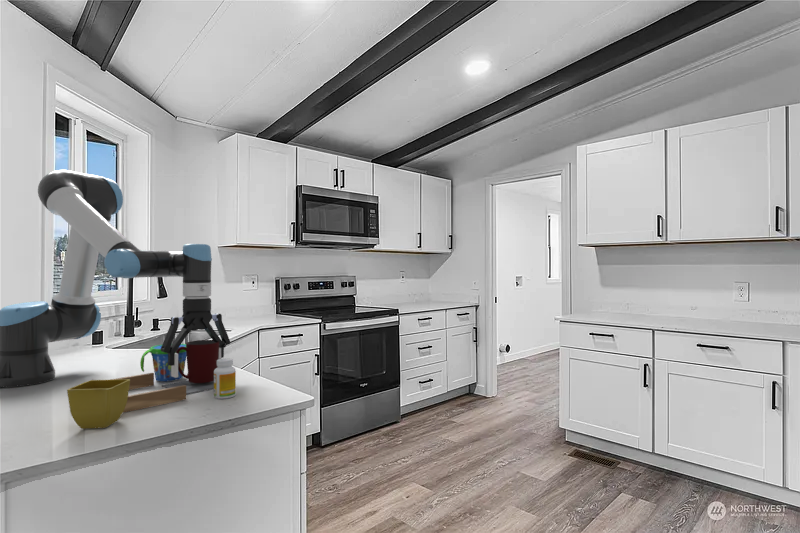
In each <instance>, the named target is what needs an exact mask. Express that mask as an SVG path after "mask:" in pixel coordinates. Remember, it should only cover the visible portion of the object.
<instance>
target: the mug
mask: <svg viewBox="0 0 800 533" xmlns="http://www.w3.org/2000/svg"><path fill="white" fill-rule="evenodd" d="M185 344H186V347H179V348H178V349H177V351H176V353H177V354H179V351H180V350H186V367H187V374H185V372H184V373H183V372H182V370H181V368H180V365H179V360H178V371H179V372H180V374H181V375H182V376H183V377H182V378H184V379H187V380H189V382H191V383H206V382H211V381H214V370H215V369H216V368H217V367H218V366H217V360H218V356H219V341H218V342H217V343H216V342H214V341H213V340H212V339H200V340H191V341H187V342H186V343H185Z"/></svg>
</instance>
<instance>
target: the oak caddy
mask: <svg viewBox="0 0 800 533" xmlns="http://www.w3.org/2000/svg"><path fill="white" fill-rule="evenodd" d="M118 379H130V385H129V391H130V390H136V389H141V388H146V387H152V386H153V387H154V385H155V373H154V372H148V373H141V374H136V375H128V376H124V377H117V378H112V379H109V380H118ZM185 400H187V395H186V385H182V386H177V387H171V388H161V389H156V390H151V391H146V392H141V393H135V394H131V395H129V394H128V399H127V403H126V406H125V409H124V411H123V413H129V412H133V411H138V410H142V409H148V408H151V407H157V406H161V405H166V404H172V403H176V402H180V401H185ZM123 413H122V414H123Z"/></svg>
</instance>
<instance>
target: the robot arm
mask: <svg viewBox="0 0 800 533" xmlns="http://www.w3.org/2000/svg"><path fill="white" fill-rule="evenodd" d="M37 195H38V198H39V200H40V202H41V204H42V205H43V206H44V207H45V209H47V210H48V211H49V213H52V214H53V215H55V216H59V217H61V218H62V219H63V220H64V221H65V222H66V223H68V224H67V225H70V230H69V234H68V241H67V247H66V251H65V252H66V253H65V259H64V263H63V268H62V275H61V281H60V287H59V290H58V291H59V292H57V293H56V294H54V295H53V296H52V297H51V303H50V304H49V303H48V302H47V301H43V300H42V301H41V300H40V301H37V300H35V301H29V302H21V303H20V302H19V303H14V304H10V305H6V306H4V307H2V308H1V309H0V388H16V387H24V386H32V385H37V384H42V383H47V382H49V381H52V380H54V379H55V378H56V369H55V366H54V364H53V362H52V360H51V357H50V355H49V343H55V342H56V343H57V342H62V341H68V340H69V341H70V340H79V339H82V338H85V337H86V338H87V337H89V336H91V335H92V334H94V333H95V332H96V331H97V330H98V328H99V326H100V323H101V319H102V314H101V312H100V311H101V309H100V308H99V306H98V305H97V304H96V299H95V298H94V297H93V296H92V293H93V292H92V291H93V286H94V280H95V276H96V269H97V266H98V265H97V264H98V259H99V254H100V255H101V256H102V257H103V258H104V268H106V270H105V271H106V273H107V274H108V275H109V276H111V277H112V278H119V279H120V278H122V279H135V278H136V279H137V278H169V277H170V278H171V277H173V278H174V277H176V278H178V277H179V278H180V277H181V278H182V297H184V298H183V299H182V315H181V316H171V318H170V326H169V328H168V330H167V333H166V335H165V337H164V340H163V341H162V342H163V343H162V344H161V345H162V347H161V351H162V352H165V353H168V364H169V365H170V366H171V376H172V377H175V378H177V377H178V354H177V353H175V352H176V351H177V349H178V348H179V346H180V345H181V344H183V342H184V340H185V339H186V337H187V336H188V335H189V334H190V333H191V332H192V331H193V332H196V331H199V330H200V331H205V332H206V333H207V334H208V336H209V337H210V339H211V340H213V341H214V342H216V343H217V342H218V341H219V356H218V359H224V357H225V348H226V346H228V345H230V344H231V340H230V338H229V335H228V332H227V330H226V328H225V324H224V323H223V317H222V316H223V315H222V314H221V313H213V314H212V312H211V311H212V299H211V298H210V297H211V296H212V260H213V258H212V250H211V249H212V248H211V246H210V245H209V244H204V243H185V244H183V246H182V250H181V251H180V250H179V251H178V250H177V251H175V250H173V251H172V250H169V251H168V250H149V249H148V250H146V249H145V250H144V249H139V248H138V247H137V246H135V244H133V243H132V242H131V241H130V240H129V239H128V238H127V237H126V236H124V235H123V234H122V233H121V232H120V231H119V230H118V229H117V228H116V227H115V226H114V225H112V224H111V223H110V222H111V220H112V215H113V216H114V215H116V214H118V213H119V212H120V211H121V209H122V206H123V204H124V196H123V192H122V189H121V188H120V186H119V184H118V183H117V182H116V181H114V180H113V179H111V178H107V177H104V176H100V175H95V174H89V173H83V172H78V171H72V170H69V169H68V170H67V169H59V170H58V169H57V170H53V171H51V172H49V173H47V174H45V175H44V176H43V177H42V178H41V180H40V181H39V183H38V186H37ZM211 321H214V322H213V323H214V325H215V327H216V329H217V332H218V333H217V332H216V331H215V330H214V327H213V326H212V325H211V323H210V322H211ZM181 323H183V326H182V327H181V328H180V331H179V333H178V334H177V331H178V328H179V325H180V324H181ZM176 334H177V336H176ZM218 334H219V335H218ZM217 368H218V367H217Z"/></svg>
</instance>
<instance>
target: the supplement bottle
mask: <svg viewBox="0 0 800 533" xmlns="http://www.w3.org/2000/svg"><path fill="white" fill-rule="evenodd" d="M233 365H234V359H232V358H227V357H226V358H221V359H218V360H217V366H218V368H216V369H215V370H214V389H213V398H214V399H219V400H224V399H231V398H233V397H235V396H236V394H237V390H236V385H237V384H236V373H237V372H236V368H235V367H234V366H233Z"/></svg>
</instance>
